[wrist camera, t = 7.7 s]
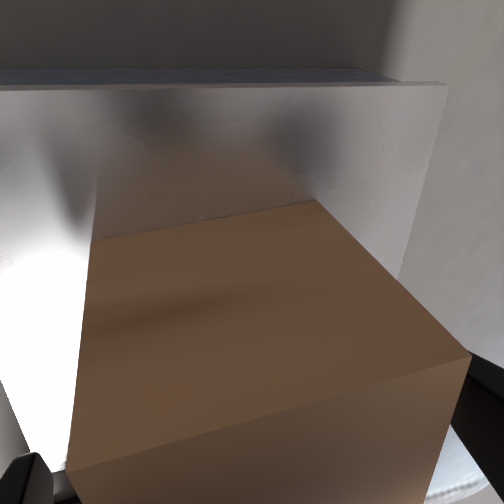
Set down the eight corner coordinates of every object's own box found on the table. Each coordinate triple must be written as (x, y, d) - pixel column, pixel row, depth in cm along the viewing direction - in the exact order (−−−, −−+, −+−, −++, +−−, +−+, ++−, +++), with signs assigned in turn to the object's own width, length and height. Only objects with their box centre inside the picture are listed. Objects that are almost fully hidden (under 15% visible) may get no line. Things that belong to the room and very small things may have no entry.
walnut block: (312, 353, 14) (412, 535, 10) (141, 398, 13) (155, 632, 8) (316, 200, 11) (472, 355, 6) (90, 241, 10) (65, 472, 5)
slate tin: (316, 322, 21) (364, 400, 17) (58, 366, 18) (40, 475, 14) (357, 60, 15) (450, 85, 11) (-36, 58, 11) (-120, 92, 7)
